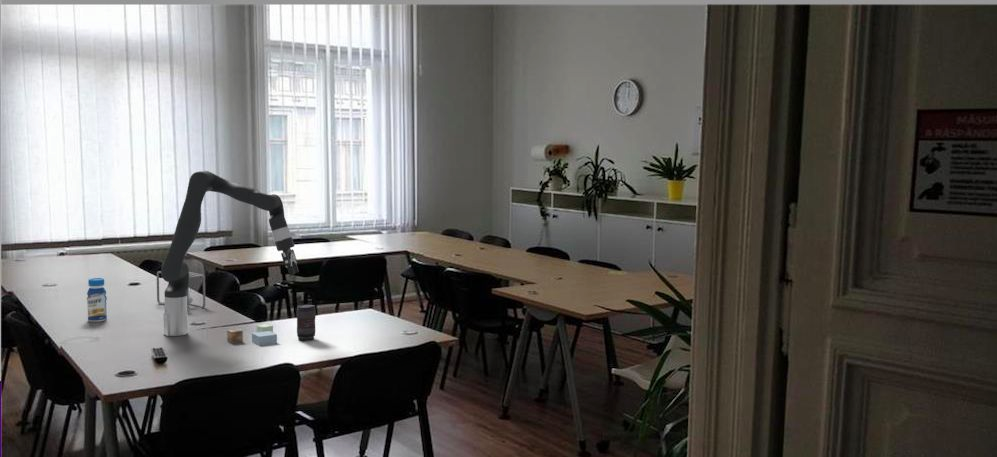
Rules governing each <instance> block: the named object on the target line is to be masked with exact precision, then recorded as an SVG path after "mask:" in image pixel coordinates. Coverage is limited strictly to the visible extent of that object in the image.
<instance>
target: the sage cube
mask: <svg viewBox="0 0 997 457" xmlns="http://www.w3.org/2000/svg"><path fill="white" fill-rule="evenodd" d="M265 331H271V332H273V333H274V325H272V324H268V323H263V324H259V325H256V333H257V332H265Z"/></svg>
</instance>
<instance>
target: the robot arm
mask: <svg viewBox="0 0 997 457" xmlns="http://www.w3.org/2000/svg"><path fill="white" fill-rule="evenodd" d="M207 192H213V193H218V194H222V195H223V194H224V195H226V196H228V197H230V198H232V199H233V200H236V201H239V202H242V203H245V204H247V205H250V206H254V207H256V208H258V209H260V210H263V211H265V212H266V211H267V212H269V219H268V222H269V223H268V224H269V226H270V230H271V234H272V238H273V241H274V244H275V247H276V250H277V252H281V251H282V252H281V253H280V256H281V258H282V261H283V265H284V267H285V268H286V270H287V271H288V274H289V276H294V275H295V274H298V273H299V272H300V270H299V268H298V265H297V264H298V259H297V257H296V254H295V250H294V249H291V248H294V247H295V243H294V240H293V237H292V232H291V230H290V228H289V225H288V223H287V219H286V217H285V210H284V204H283V200H282V199H281V197H280V196H279V195H277V194H275V193H274V194H267V193H263V192H260V191H259V189H255V188H253V187H250V186H246V185H244V184H240V183H236V182H233V181H231V180H230V181H229V180H228V179H225V178H223V177H221V176H219V175H217V174H215V173H213V172H211V171H209V170H197V171H194V173H192V174H191V176H190V178H189V181H188V186H187V191H186V196H185V199H184V202H183V206H182V208H181V212H180V215H179V218H178V220H177V223H176V227H175V230H174V234H173V236H172V240H171V243H170V247H169V249H168V252H167V255H166V257H165V258H164V261H163V263H162V266H161V268H160V271H161V273H160V274H161V278H162V279H163V280H164V281H165V282H167V286H166V288H165V290H164V302H165V305H164V312H163V334H164V335H165V336H166V337H179V336H185V335H187V334H188V331H189V330H188V310H187V290H188V287H190V286H189V284H190V274H189V272H190V269H189V266H188V263H187V262H186V261H184V259H185V256H186V254H187V252H188V251H189V249H190V248H191V246H192V245H193V243H194V241H195V240H196V238H197V236H198V234H199V231H200V228H201V224H202V203H203V200H204V197H205V195H206V193H207Z"/></svg>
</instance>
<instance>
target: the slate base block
mask: <svg viewBox="0 0 997 457" xmlns="http://www.w3.org/2000/svg"><path fill="white" fill-rule="evenodd" d="M277 337H278V335H277V334H276V333H274V331H273V332H271V331H265V332H257V331H256V332H252V333H251V342H252V343H253V344H256V345H257V346H264V345H272V344H277V343H278V338H277Z"/></svg>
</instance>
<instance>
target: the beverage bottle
mask: <svg viewBox="0 0 997 457" xmlns="http://www.w3.org/2000/svg"><path fill="white" fill-rule="evenodd" d="M87 283H88V287H89V288H88V290H87V292H86V295H87V297H86V301H87V302H86V303H87V321H88V322H90V323H92V322H93V323H96V322H97V323H99V322H104V321H107V319H108V314H107V313H108V312H107V301H108V297H107V291H106V289H105V288H104V286H105V278H104V277H94V278H89V279H88V281H87Z"/></svg>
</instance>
